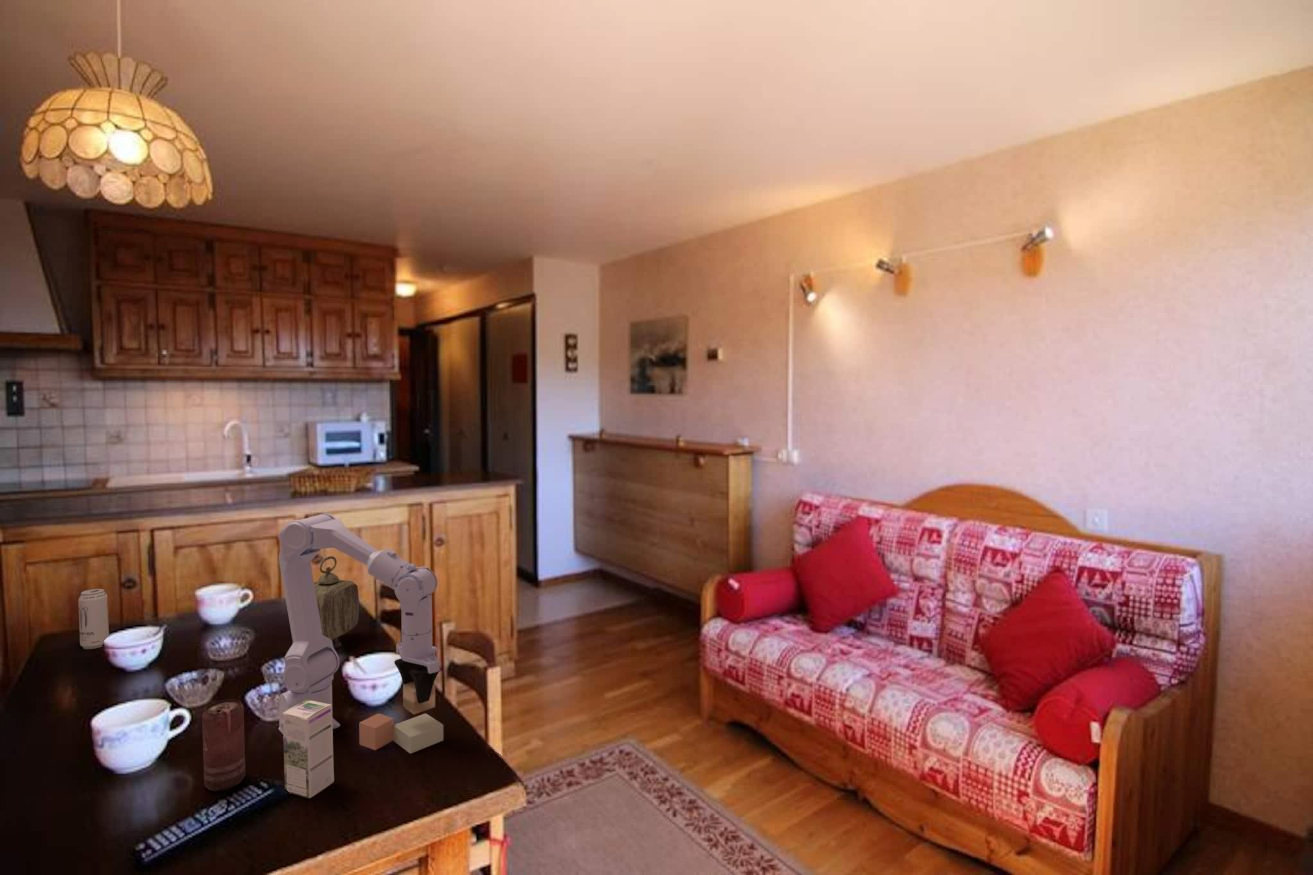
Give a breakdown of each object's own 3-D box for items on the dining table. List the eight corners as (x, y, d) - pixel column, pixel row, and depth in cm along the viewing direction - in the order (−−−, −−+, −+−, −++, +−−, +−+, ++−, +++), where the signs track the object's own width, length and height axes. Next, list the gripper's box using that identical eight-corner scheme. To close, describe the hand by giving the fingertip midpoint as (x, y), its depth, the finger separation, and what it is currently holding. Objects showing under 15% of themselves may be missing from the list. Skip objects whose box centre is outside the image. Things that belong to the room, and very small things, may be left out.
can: (215, 796, 114) (213, 717, 114) (197, 784, 118) (195, 707, 117) (252, 779, 120) (250, 703, 119) (234, 768, 123) (232, 694, 122)
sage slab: (410, 754, 129) (410, 737, 129) (393, 742, 134) (393, 725, 134) (443, 741, 134) (443, 724, 134) (425, 729, 139) (425, 713, 139)
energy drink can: (74, 648, 179) (72, 593, 178) (99, 640, 185) (96, 587, 184) (90, 651, 177) (88, 595, 176) (114, 643, 183) (112, 589, 182)
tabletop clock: (332, 637, 190) (330, 550, 188) (361, 639, 189) (360, 551, 187) (298, 656, 176) (296, 562, 174) (329, 658, 174) (328, 564, 173)
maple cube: (413, 714, 131) (413, 691, 130) (403, 706, 134) (403, 684, 133) (435, 707, 134) (435, 685, 134) (424, 699, 137) (424, 678, 137)
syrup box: (335, 781, 119) (334, 702, 118) (308, 800, 114) (306, 717, 113) (310, 775, 121) (309, 697, 120) (282, 793, 116) (281, 711, 115)
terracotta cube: (375, 750, 130) (375, 728, 130) (359, 744, 132) (359, 722, 132) (394, 740, 134) (393, 718, 134) (378, 734, 136) (378, 713, 136)
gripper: (453, 634, 130) (454, 702, 131) (419, 617, 140) (419, 680, 141) (419, 644, 125) (420, 714, 126) (385, 625, 135) (386, 690, 136)
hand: (417, 697), depth 133 cm, fingers closed on maple cube, 4 cm apart
